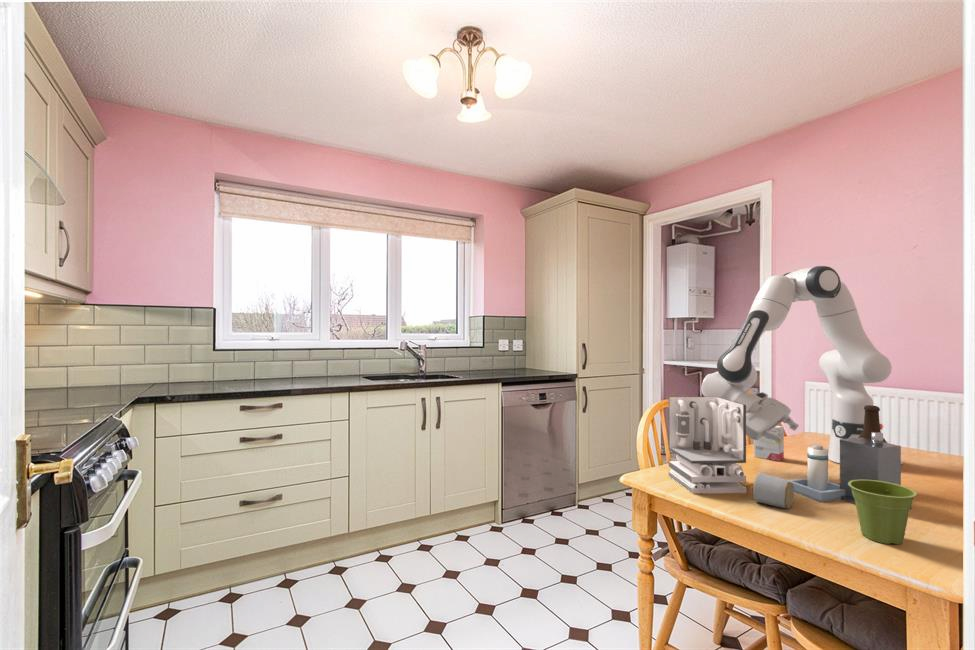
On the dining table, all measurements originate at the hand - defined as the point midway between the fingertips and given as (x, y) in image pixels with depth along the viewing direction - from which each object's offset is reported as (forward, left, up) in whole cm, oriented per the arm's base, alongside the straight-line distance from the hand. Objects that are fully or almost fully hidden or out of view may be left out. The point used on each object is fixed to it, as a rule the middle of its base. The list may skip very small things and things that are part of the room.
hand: (789, 434), depth 149 cm
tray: (+4, +12, -14) cm, 19 cm away
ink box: (-13, -21, -14) cm, 28 cm away
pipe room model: (+29, -3, -14) cm, 32 cm away
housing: (-3, +21, -14) cm, 26 cm away
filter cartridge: (+4, +12, -13) cm, 18 cm away
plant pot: (+17, +38, -14) cm, 44 cm away
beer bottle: (-15, +13, -14) cm, 25 cm away
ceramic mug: (+22, +15, -14) cm, 30 cm away
